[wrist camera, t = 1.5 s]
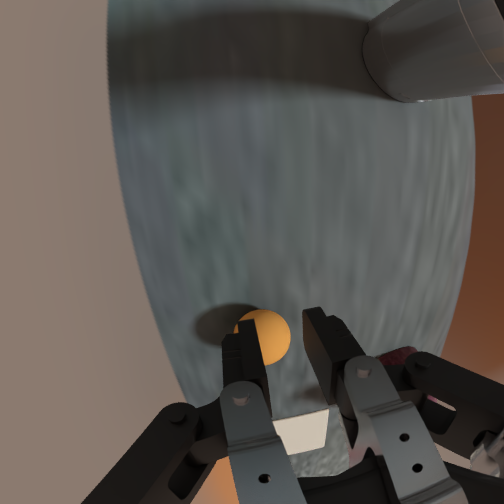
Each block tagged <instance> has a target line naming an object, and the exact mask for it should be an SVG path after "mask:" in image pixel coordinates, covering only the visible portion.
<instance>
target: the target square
mask: <svg viewBox="0 0 504 504" xmlns="http://www.w3.org/2000/svg"><path fill="white" fill-rule="evenodd" d="M328 413H329V408H328V409H324V410H320V411H316V412H312V413H308V414H303V415H299V416H294V417H289V418H284V419H279V420H274V421H272V422H273V424H274V427H275V430H276V432H277V435H279V436H280V437H281V439H282V442H283V444H284V447H285V449H286V452H287V455H290V454H295V453H300V452H304V451H309V450H313V449H317V448H321V447H324V444H325V437H326V430H327V422H328Z"/></svg>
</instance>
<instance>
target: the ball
mask: <svg viewBox="0 0 504 504" xmlns="http://www.w3.org/2000/svg"><path fill="white" fill-rule="evenodd" d="M253 318H254V320H255V325H256V329H257V334H258V338H259V343H260V347H261V352H262V356H263V361H264V365H269V364H272V363H274V362H276V361H278V360H279V359H281V358H282V357H283V356H284V354H285V353H286V352H287V350H288V347H289V344H290V330H289V327H288V325H287V323H286V322H285V320H284V319H283V318H282V317H281V316H280V315H278V314H277V313H275V312H273V311H270V310H265V309H259V310H254V311H251V312H249V313H247V314H245V315H244V316H243V317H242V318H241V319H240V320H247V319H253ZM240 320H239V321H240ZM234 333H238V325H237V324H236V326H235V329H234Z"/></svg>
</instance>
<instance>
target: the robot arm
mask: <svg viewBox="0 0 504 504" xmlns="http://www.w3.org/2000/svg"><path fill="white" fill-rule="evenodd" d="M368 27H369V31H368V33H367V35H366V36H365V38H364V41H363V57H364V62H365V64H366V67H367V70H368V71H369V73H370V75H371V77H372V78H373V80H374V81H375V82H376V83H377V85H378V86H379V87H380V88H381V89H382V90H383V91H384V92H385V93H387V94H388V95H390V96H391V97H392V98H394V99H397V100H399V101H402V102H406V103H415V102H424V101H429V100H435V99H443V98H451V97H460V96H470V95H482V94H499V93H504V0H400V1H398V2H397V3H395V4H394V5H392V6H391V7H389V8H388V9H386V10H385V11H383V12H382V13H381V14H379V15H378V16H376V17H375V18H374V19H372V20H371V21H369V22H368ZM302 318H303V341H304V347H305V351H306V353H307V356H308V358H309V360H310V363H311V365H312V367H313V370H314V372H315V374H316V377H317V379H318V381H319V384H320V386H321V388H322V391H323V393H324V396H325V398H326V400H327V403H328V405H332V404H335V403H337V405H338V407H339V413H338V417H339V421H340V424H341V428H342V431H343V435H344V438H345V442H346V445H347V449H348V453H349V469H348V470H346V471H344V472H343V473H341V474H339V475H336V476H325V477H300V478H296V475H295V473H294V470H293V467H292V465H291V462H290V460H289V457H288V455H287V452H286V449H285V447H284V444H283V442H282V439H281V437H280V436H279V435H277V432H276V430H275V427H274V424H273V422H272V419H271V418H272V410H271V402H270V395H269V387H268V380H267V374H266V370H265V365H264V361H263V356H262V352H261V347H260V343H259V338H258V334H257V329H256V325H255V320H254V318H253V319H247V320H240V321H237V325H238V333H233V334H226V336H225V338H224V339H223V341H222V364H223V385H224V386H223V390H222V391H221V393H220V396H219V397H218V398H217V399H216V400H215V401H213V402H212V403H210V404H207V405H205V406H202V407H199V408H195V407H194V406H192V405H191V404H188V403H182V402H178V403H173V404H170V405H168V406H166V407H165V408H163V409H162V410H161V411H160V412H159V414H158V415H157V416H156V417H155V418H154V420H153V421H152V422H151V423H150V424H149V426H148V427H147V428H146V429H145V430H144V432H143V433H142V434H141V436H139V438H138V439H137V440H136V441H135V442H134V443H133V445H132V446H131V447H130V448H129V449H128V451H127V452H126V453H125V454H124V455H123V456H122V458H121V459H120V460H119V461H118V462H117V463H116V465H115V466H114V467H113V468H112V469H111V470H110V471H109V473H108V474H107V475H106V476H105V477H104V479H102V481H101V482H100V483H99V484H98V485H97V486H96V487H95V488H94V490H93V491H92V492H91V493H90V494H89V495H88V496H87V497H86V499H85V500H84V501H83V502H82V503H81V504H190V503H191V502H192V500H193V499H194V497H195V495H196V494H197V492H198V491H199V489H200V488H201V486H202V484H203V482H204V481H205V479H206V478H207V476H208V475H209V473H210V472H211V470H212V468H213V467H214V465H215V464H216V461H217V460H219V459H222V458H224V457H227V456H229V460H230V465H231V469H232V474H233V479H234V483H235V487H236V492H237V495H238V500H239V504H504V385H503V384H500V383H498V382H495V381H493V380H491V379H488V378H486V377H484V376H481V375H479V374H477V373H474V372H472V371H470V370H467V369H465V368H463V367H460V366H458V365H456V364H453V363H451V362H449V361H446V360H444V359H442V358H440V357H437V356H435V355H433V354H431V353H428V352H414V353H412V354H410V355H409V356H408V357H407V358H406V360H405V363H404V364H398V365H382V363H381V362H380V361H379V360H378V359H376V358H374V357H371V356H366V354H365V353H364V351H363V350H362V348H361V347H360V345H359V344H358V342H357V341H356V339H355V338H354V337H353V335H352V334H351V332H350V331H349V329H347V326H346V325H345V323H344V322H343V321H342V320H341V319H339V318H337V317H336V316H334V315H332V316H326V315H325V313H324V312H323V310H322V308H321V307H314V308H309V309H304V310H303V312H302ZM429 395H430V396H432V397H434V398H436V399H438V400H440V401H442V402H445V403H447V404H449V405H451V406H453V407H454V408H455V409H456V411H452V410H450V409H448V408H445V407H444V406H442V405H440V404H438V403H436V402H434V401H432V400H430V399H428V396H429ZM434 442H435V443H437V444H439V445H441V446H443V447H444V448H446V449H448V450H451V451H452V452H454V453H456V454H458V455H460V456H463V457H465V458H467V459H469V460H470V462H471V466H470V469H466V468H463V467H460V466H457V465H454V464H451V463H448V462H445V461H443V460H442V458H441V456H440V454H439V452H438V450H437V448H436V446H435V444H434Z"/></svg>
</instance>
